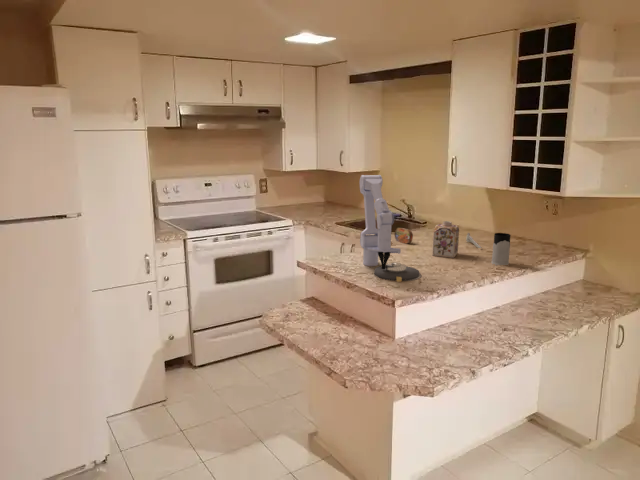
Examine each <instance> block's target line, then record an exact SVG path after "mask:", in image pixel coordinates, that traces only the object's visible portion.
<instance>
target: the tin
mask: <svg viewBox="0 0 640 480" xmlns="http://www.w3.org/2000/svg"><path fill="white" fill-rule="evenodd" d="M413 238H414V234H413V232H412V230H410V229H408V228H403V227H396V229H395V230H394V239H395V241H397V243H398V242H399V243H402V244H407V245H408V244H411V243H412V241H413Z"/></svg>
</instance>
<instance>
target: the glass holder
mask: <svg viewBox="0 0 640 480" xmlns="http://www.w3.org/2000/svg"><path fill="white" fill-rule="evenodd" d="M493 234H494V235H493V236H494V237H493V243H492V254H491V255H492V256H491V261H490V264H491V263H492V264H491V265H493V264H495V265H494V266H497V265H508V264H509V265H510V263H509V259H510V249H511V235H512V234H509V233H506V232H495V233H493ZM509 265H508V266H509Z"/></svg>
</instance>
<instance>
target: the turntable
mask: <svg viewBox="0 0 640 480" xmlns="http://www.w3.org/2000/svg"><path fill="white" fill-rule="evenodd" d="M419 273H420V270H419V269H417V268H414V267H411V266H407V265H406V272H405V273H400V274H395V273H389V272H387V271H386V266H385V269H382V265H380V266H377V267H376V268H375V269H374V270H373V275H374V276H375V277H376V276H377V278H379V279H381V278H383V279H382V280H385V279H386V280H387V281H391V280H393V281H395V282H396V283H397V282H398V283H401V282H403V281H402V280H404V281H407V280H412V279H416V278H418V277H419ZM416 280H417V279H416ZM412 281H413V280H412Z"/></svg>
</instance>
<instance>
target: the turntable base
mask: <svg viewBox="0 0 640 480" xmlns="http://www.w3.org/2000/svg"><path fill="white" fill-rule="evenodd" d="M421 277H422V274H421V273H420V272H419V277H418V278H416V279H412V280H406V282H409V281H410V282H412V281H415V280H419V279H420V278H421ZM375 278H378V276H376V275H375ZM380 279H382V280H385V281H387V279H383V278H380ZM390 281H391V282H394V280H390ZM402 282H405V280H402Z"/></svg>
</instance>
